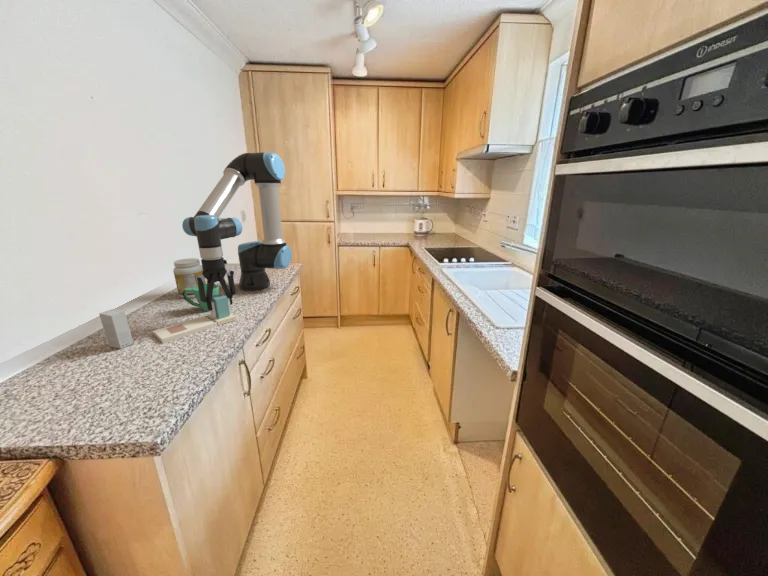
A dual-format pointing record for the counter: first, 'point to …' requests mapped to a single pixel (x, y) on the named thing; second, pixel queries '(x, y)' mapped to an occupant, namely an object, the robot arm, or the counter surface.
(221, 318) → the stub
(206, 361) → the counter surface
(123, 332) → the skincare box
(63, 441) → the counter surface
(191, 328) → the ticket
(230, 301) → the robot arm
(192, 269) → the supplement tub
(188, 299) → the mug
